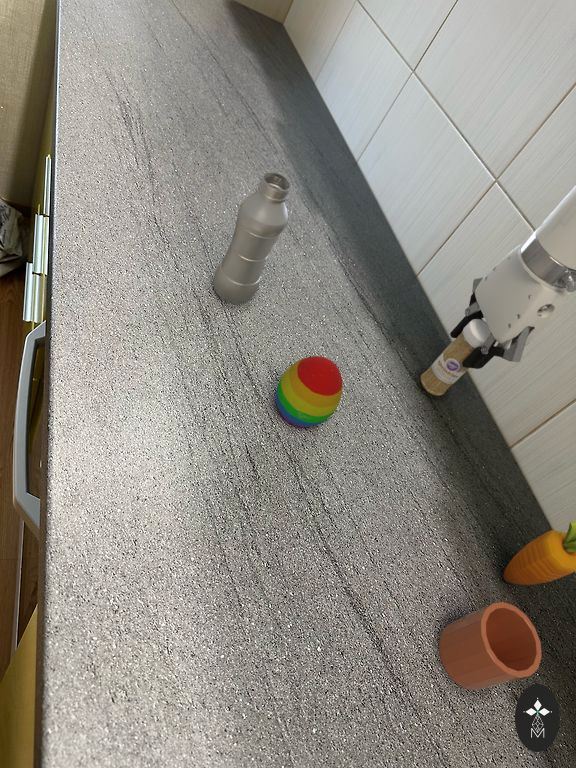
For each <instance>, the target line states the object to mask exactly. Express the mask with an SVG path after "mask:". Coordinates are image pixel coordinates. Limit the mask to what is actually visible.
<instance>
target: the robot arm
mask: <svg viewBox="0 0 576 768" xmlns="http://www.w3.org/2000/svg"><path fill="white" fill-rule="evenodd" d="M573 292H576V184H575V185H574V186H573V188H572V189H571V190H570V191H569V192H568V193H567V195H565V197H564V198H563V199H562V200H561V201H560V202H559V203H558V205H557V206H556V207H555V208H554V209H553V210H552V211H551V212H550V213H549V215H548V216H547V217H546V218H545V219H544V220H543V222H542V223H541V224H540V225H538V227H537V229H535V231H534V232H532V234H531V235H530V236H529V237H528V238H527V239H526V241H525V242H522V243H520V244H519V245H517V246H516V247H514V248H513V249H512V250H511V251H509V252H508V253H507V254H506V255H505V256H503V258H501V259H500V260H499V261H498V262H497V263H496V264H495V265H494V266H493V267H492V268H491V269H490V270H489V271H487V273H486V275H485V276H482V277H476V278H474V279H473V281H472V292H471V295H470V298H469V304H468V307H466V308H465V310H464V315H465V316H464V317H463V318H461V320H460V321H459V322H458V324H457V325H456V326H454V328H453V329H452V330H451V331H450V333H449V336H450V338H452V339H456V338H457V337H458V336H459V335H460V334H461V333H462V331H463V329H464V327H465V326H466V325H467V324H468V323H469V322H470V321H471V320H473V319H481V320H484V321H485V322H487V324H488V326H489V328H490V331H491V333H490V335H489V337H488V338H487V340H486V341H485V343H484V345H483V346H482V347H476V348H475V349H474V350H473V352H472V353H471V354H470V355H469V356H468V357H467V358H466V359H465V360H464V361H463V363H462V365H463V367H465V368H469V369H474V370H480V369H483V368H484V367H485V366H486V365H487V364H488V363H489V362H490V361H491V360H492V359H493V358H494V357H498V358H500V359H503V360H505V361H508V362H510V363H511V362H512V363H519V362H521V360H522V356H523V353H524V350H525V347H526V346H528V345H529V344H531V343H532V342H533V340H535V339H536V338H537V337H538V336H539V335H540V334H541V333H542V331H543V330H544V329H546V327H548V325H550V322H552V320H553V319H554V318H555V317H556V315H557V314H558V313H559V312H560V310H561V309H562V308H563V306H564V305H565V303H566V302H567V300H568V299H569V297H570V295H571V293H573ZM496 343H497V344H496ZM508 346H509V348H508Z"/></svg>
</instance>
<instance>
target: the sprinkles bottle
mask: <svg viewBox="0 0 576 768" xmlns="http://www.w3.org/2000/svg"><path fill="white" fill-rule="evenodd" d="M490 333H491V331H490V328H489V326H488V324H487V322H486V320H485V319H483V320H481V319H473V320H471V321H470V322H469V323H468V324H467V325H466V326H465V327H464V329H463V331H462V333H461V334H460V335H459V336H458V337H457V338H454V340H453V341H451V342H450V344H449V345H448V346H447V347H445V349H444V350H443V351H442V353H440V354H439V356H438V357H437V358H436V359H435V360H434V361H433V363H432V364H431V365H430V366H429V367H428V368H427V370H425V371H424V372H423V373H422V374H421V375H420V383H421V385H422V387H423V389H424V390H425V391H426V392H427V393H428V394H430V395H433V396H436V397H440V396H442V395H443V396H444V395H445V393H446V392H447V390H449V389H450V387H452V386H453V385H454V384H455V383H456V382H457V381H458V380H459V379H460V378H461V377H462V376H463V375H464V374H465V373H466V372H467V371H468V370H469V369H470V368H465V367H463V365H462V363H463V361H464V360H465V359H466V358H467V357H468V356H469V355H470V354H471V353H472V352H473V350H474V349H475V348H476V347H482V346H483V345H484V343H485V341H486V340H487V338H488V337H489V335H490Z"/></svg>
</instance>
